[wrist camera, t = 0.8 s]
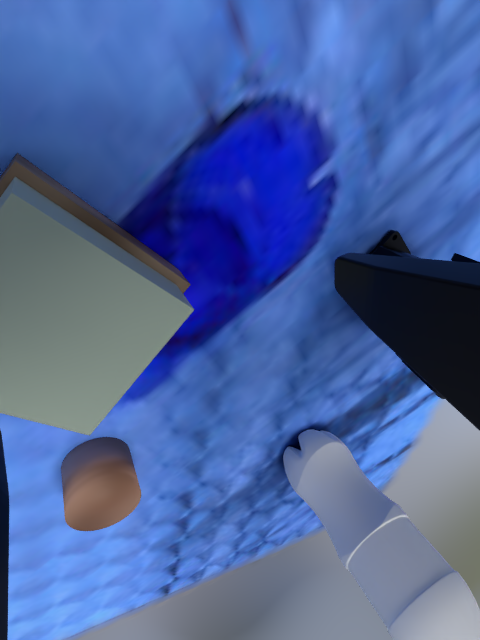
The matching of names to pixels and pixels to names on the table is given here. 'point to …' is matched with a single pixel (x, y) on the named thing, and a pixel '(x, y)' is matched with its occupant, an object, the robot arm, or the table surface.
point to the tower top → (73, 314)
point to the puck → (99, 484)
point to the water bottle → (381, 545)
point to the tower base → (88, 216)
